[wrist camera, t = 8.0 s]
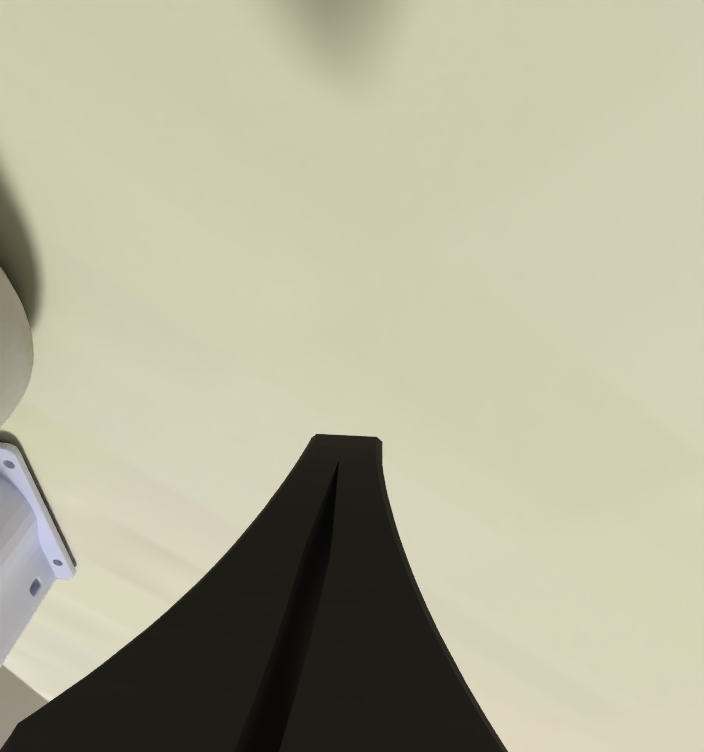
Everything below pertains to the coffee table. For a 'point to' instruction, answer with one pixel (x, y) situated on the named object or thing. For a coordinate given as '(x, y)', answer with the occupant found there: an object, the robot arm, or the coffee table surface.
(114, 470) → the coffee table surface
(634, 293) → the coffee table surface
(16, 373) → the teacup
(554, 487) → the coffee table surface
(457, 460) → the coffee table surface
